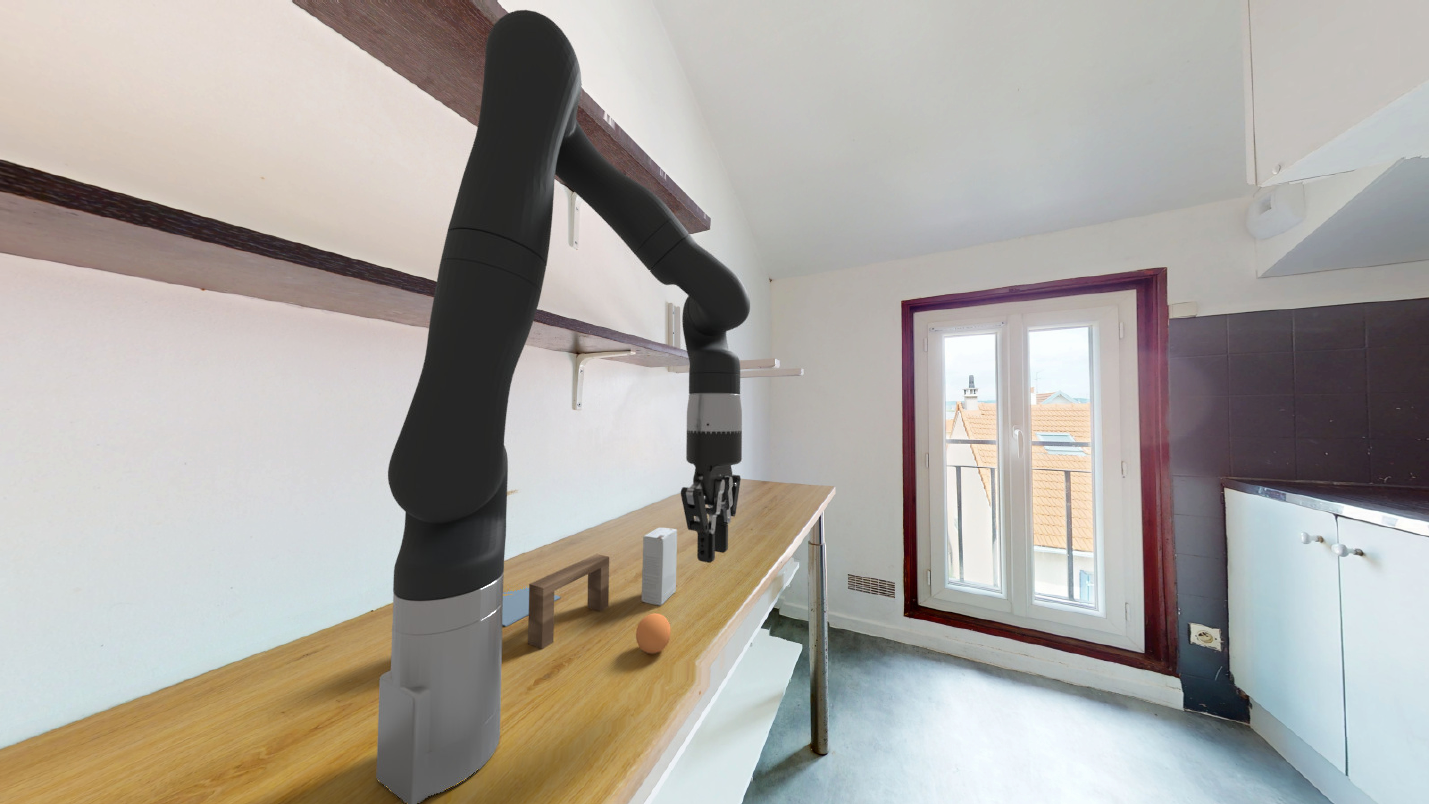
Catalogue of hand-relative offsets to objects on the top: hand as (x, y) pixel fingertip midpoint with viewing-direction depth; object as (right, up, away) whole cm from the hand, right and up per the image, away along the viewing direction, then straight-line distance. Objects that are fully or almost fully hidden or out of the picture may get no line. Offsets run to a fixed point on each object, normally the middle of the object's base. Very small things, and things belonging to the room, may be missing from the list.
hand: (713, 555), depth 53 cm
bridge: (-23, -15, +11) cm, 30 cm away
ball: (-9, -13, +4) cm, 16 cm away
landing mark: (-36, -15, +17) cm, 42 cm away
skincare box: (-10, -16, +20) cm, 27 cm away
